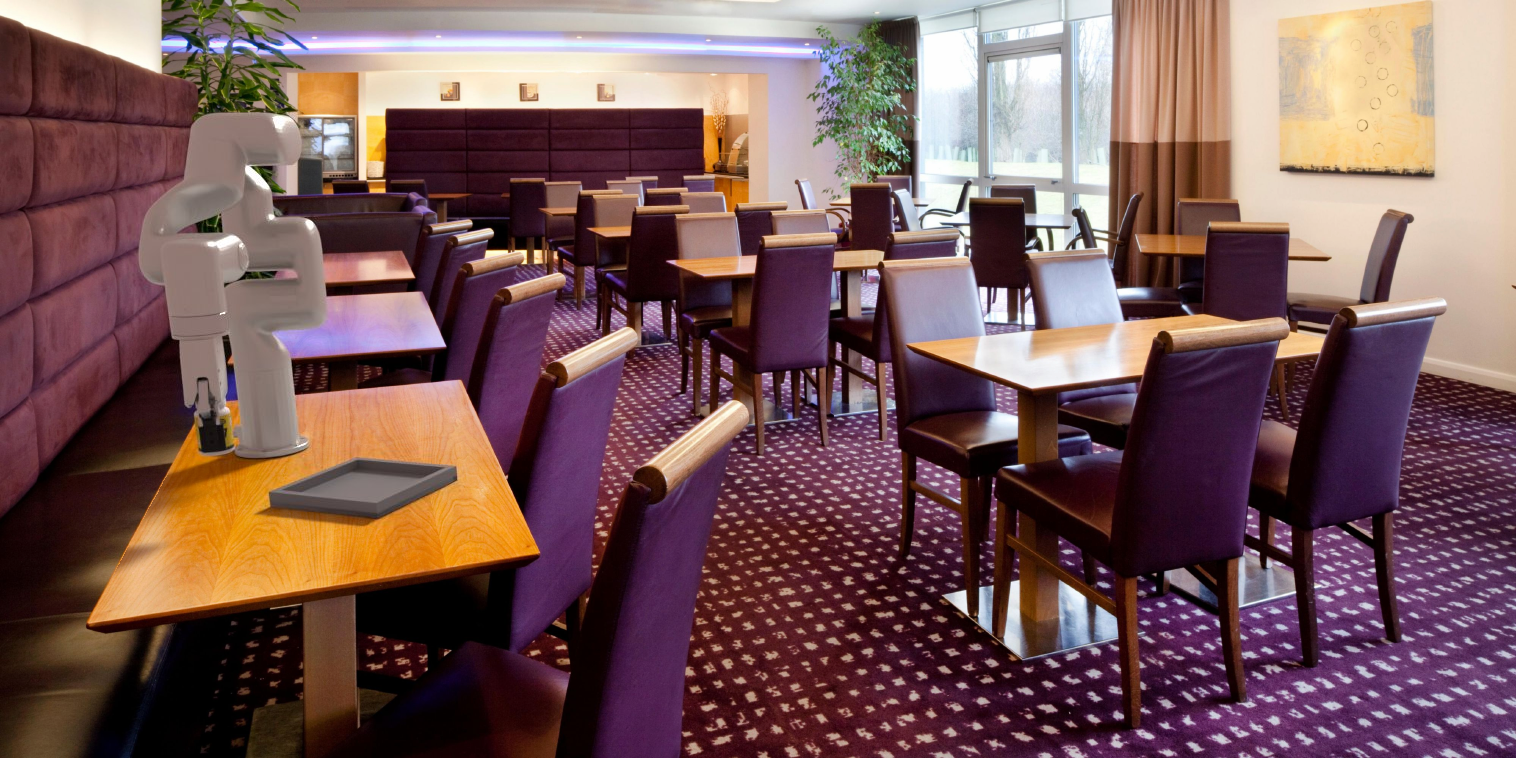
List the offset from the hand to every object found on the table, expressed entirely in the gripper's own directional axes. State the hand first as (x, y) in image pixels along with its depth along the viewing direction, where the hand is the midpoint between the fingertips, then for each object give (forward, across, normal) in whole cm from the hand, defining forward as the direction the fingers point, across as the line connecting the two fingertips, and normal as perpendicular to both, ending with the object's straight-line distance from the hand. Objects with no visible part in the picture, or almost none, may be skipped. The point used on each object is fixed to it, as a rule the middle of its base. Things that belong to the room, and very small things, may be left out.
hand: (216, 445), depth 156 cm
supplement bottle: (+1, 0, 0) cm, 1 cm away
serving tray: (+11, -3, +20) cm, 23 cm away
